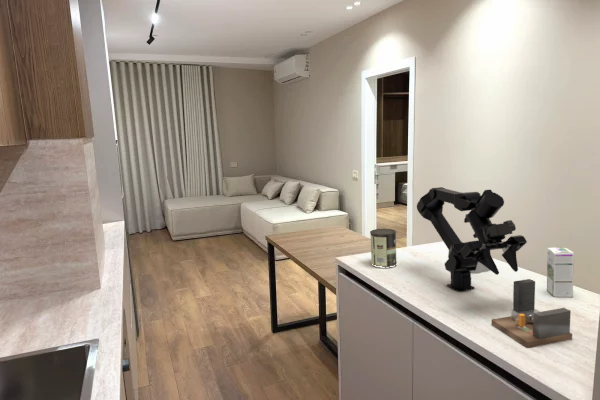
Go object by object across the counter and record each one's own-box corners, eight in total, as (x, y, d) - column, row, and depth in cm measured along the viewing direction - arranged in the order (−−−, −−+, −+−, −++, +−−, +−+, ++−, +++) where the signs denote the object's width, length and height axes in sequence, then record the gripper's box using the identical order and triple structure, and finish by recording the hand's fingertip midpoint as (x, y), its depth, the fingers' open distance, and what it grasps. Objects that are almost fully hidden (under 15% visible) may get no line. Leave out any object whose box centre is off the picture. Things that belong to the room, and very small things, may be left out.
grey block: (472, 274, 152) (472, 252, 151) (448, 265, 164) (448, 244, 163) (494, 270, 156) (494, 247, 155) (468, 261, 168) (468, 240, 167)
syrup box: (573, 297, 128) (575, 252, 125) (552, 297, 129) (554, 252, 127) (565, 290, 133) (567, 247, 131) (545, 290, 134) (547, 247, 132)
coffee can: (393, 260, 175) (393, 227, 172) (399, 268, 164) (398, 233, 162) (369, 261, 175) (368, 229, 173) (373, 269, 165) (372, 235, 163)
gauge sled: (506, 318, 113) (507, 282, 111) (530, 314, 114) (531, 278, 112) (521, 327, 107) (522, 289, 106) (545, 323, 109) (547, 285, 107)
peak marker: (518, 325, 108) (518, 314, 108) (522, 324, 108) (522, 313, 108) (521, 326, 107) (521, 315, 107) (525, 326, 108) (525, 315, 107)
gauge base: (491, 324, 114) (491, 298, 112) (532, 317, 116) (532, 292, 115) (527, 347, 101) (528, 319, 100) (572, 339, 103) (573, 311, 102)
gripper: (466, 214, 118) (492, 263, 109) (523, 208, 122) (552, 254, 113) (451, 235, 127) (473, 281, 118) (504, 229, 131) (529, 273, 122)
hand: (507, 272), depth 117 cm, fingers open, 6 cm apart
